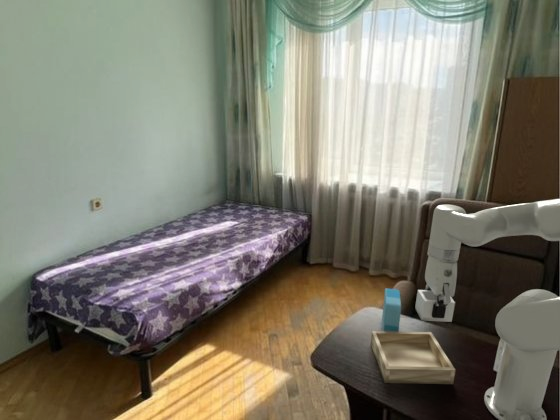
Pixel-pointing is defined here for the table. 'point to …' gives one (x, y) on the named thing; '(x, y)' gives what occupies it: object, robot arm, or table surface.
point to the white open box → (426, 306)
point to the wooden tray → (411, 358)
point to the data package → (391, 310)
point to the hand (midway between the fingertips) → (433, 309)
